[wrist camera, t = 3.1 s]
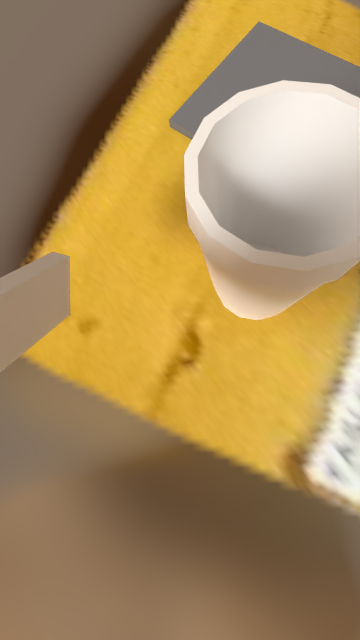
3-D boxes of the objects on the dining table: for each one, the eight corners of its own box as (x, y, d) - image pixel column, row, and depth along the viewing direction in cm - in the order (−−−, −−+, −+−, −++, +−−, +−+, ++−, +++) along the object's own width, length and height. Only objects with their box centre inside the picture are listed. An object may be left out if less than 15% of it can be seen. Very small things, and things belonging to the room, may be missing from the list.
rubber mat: (430, 109, 30) (436, 101, 29) (343, 227, 28) (347, 221, 27) (257, 30, 34) (258, 21, 33) (170, 126, 32) (169, 119, 31)
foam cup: (194, 230, 29) (182, 88, 16) (308, 224, 28) (388, 71, 15) (197, 342, 26) (186, 276, 14) (322, 338, 25) (431, 265, 13)
